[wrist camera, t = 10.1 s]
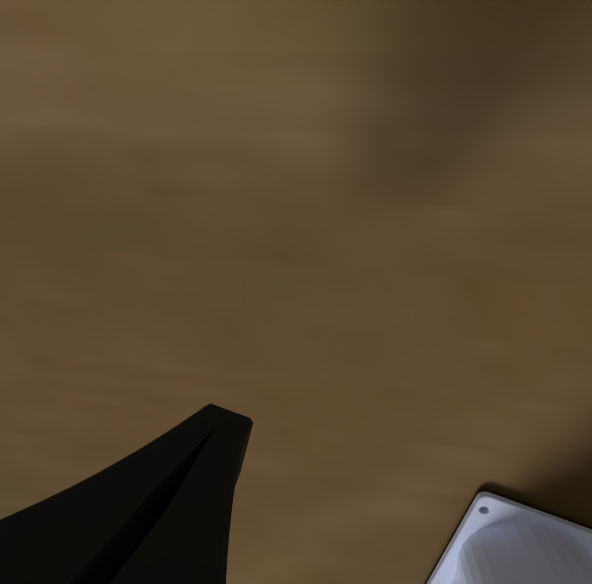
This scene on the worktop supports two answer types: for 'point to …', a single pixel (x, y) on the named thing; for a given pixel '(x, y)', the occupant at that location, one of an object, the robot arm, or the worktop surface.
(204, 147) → the worktop surface
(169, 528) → the robot arm
